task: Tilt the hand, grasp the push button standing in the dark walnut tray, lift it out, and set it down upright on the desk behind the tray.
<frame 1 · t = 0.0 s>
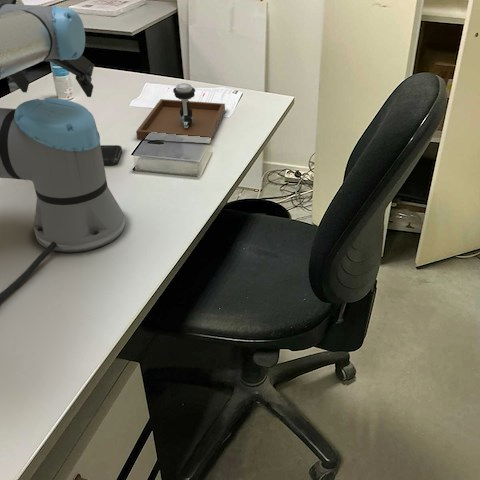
hand: (58, 89, 117), 15 cm above the table, tool tilted 35°, fingers open, 13 cm apart
tray: (184, 124, 143), on the table
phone: (85, 157, 125), on the table
push button: (186, 125, 142), resting in tray
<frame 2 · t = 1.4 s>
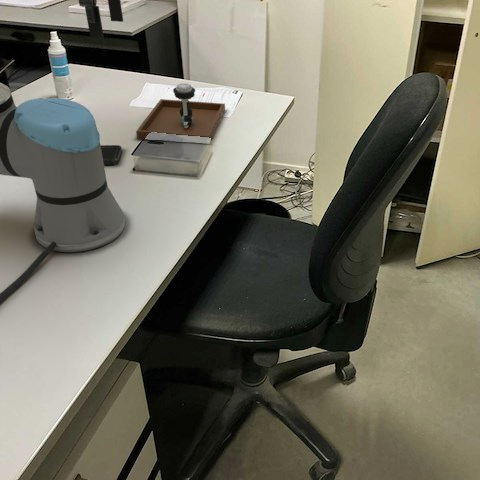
hand: (107, 28, 127), 23 cm above the table, tool pointing down, fingers open, 13 cm apart
nothing on the table moved.
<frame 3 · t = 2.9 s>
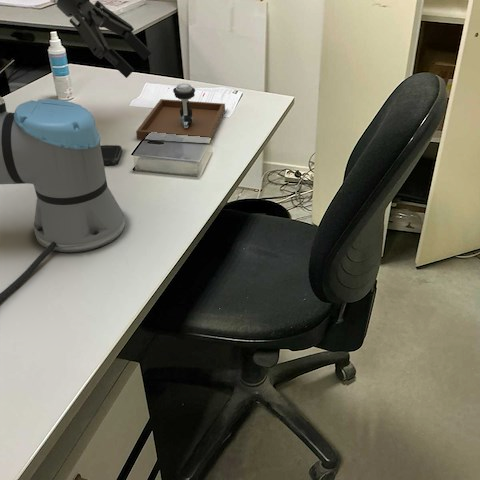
hand: (140, 65, 133), 15 cm above the table, tool tilted 45°, fingers open, 13 cm apart
nothing on the table moved.
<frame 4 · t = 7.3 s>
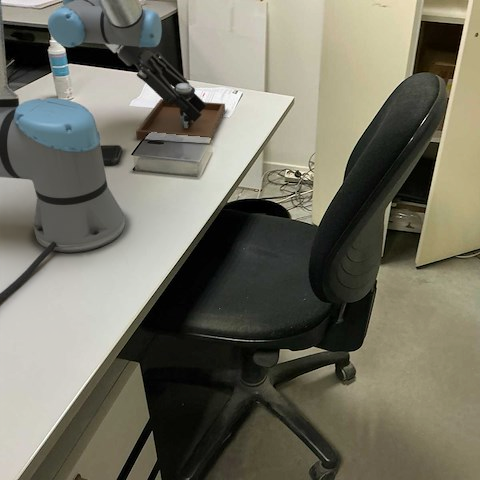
hand: (200, 113, 140), 4 cm above the table, tool tilted 45°, fingers closed on push button, 5 cm apart
push button: (186, 124, 142), resting in tray, touching gripper
everything else where it was.
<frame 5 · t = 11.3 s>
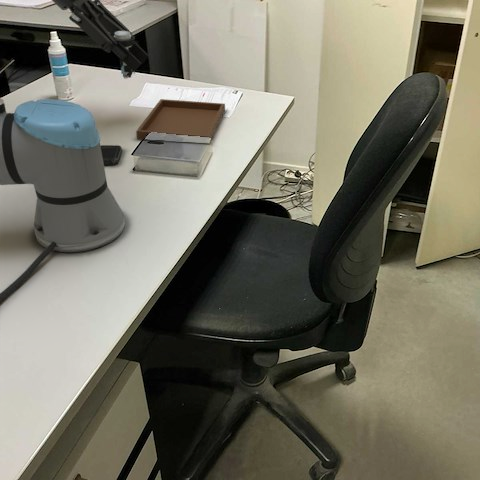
hand: (141, 63, 134), 15 cm above the table, tool tilted 45°, fingers closed on push button, 5 cm apart
push button: (128, 76, 136), point 12 cm above the table, touching gripper
everything else where it was.
when the fingers open (3 cm above the table, at t = 15.3 s): push button stays where it is, on the table.
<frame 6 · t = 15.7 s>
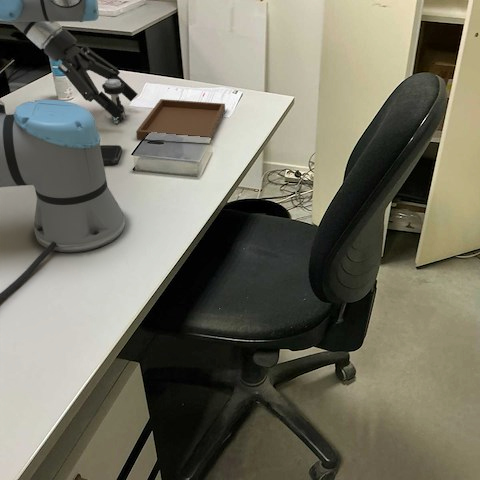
hand: (127, 106, 140), 4 cm above the table, tool tilted 45°, fingers open, 11 cm apart
push button: (118, 120, 143), on the table
everything else where it was.
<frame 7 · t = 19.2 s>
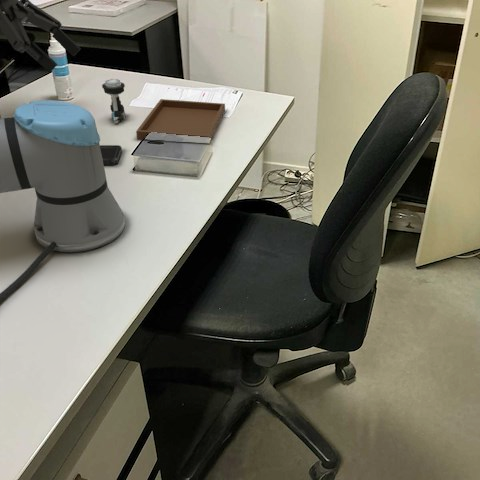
hand: (66, 60, 134), 15 cm above the table, tool tilted 45°, fingers open, 13 cm apart
nothing on the table moved.
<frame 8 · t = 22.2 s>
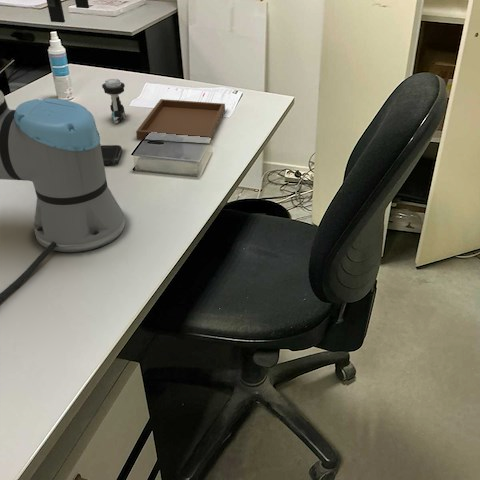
hand: (71, 14, 123), 27 cm above the table, tool pointing down, fingers open, 13 cm apart
nothing on the table moved.
at the end: push button inside the target area (0.2 cm from its centre), on the table; push button tilted 0°; push button touching table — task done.
